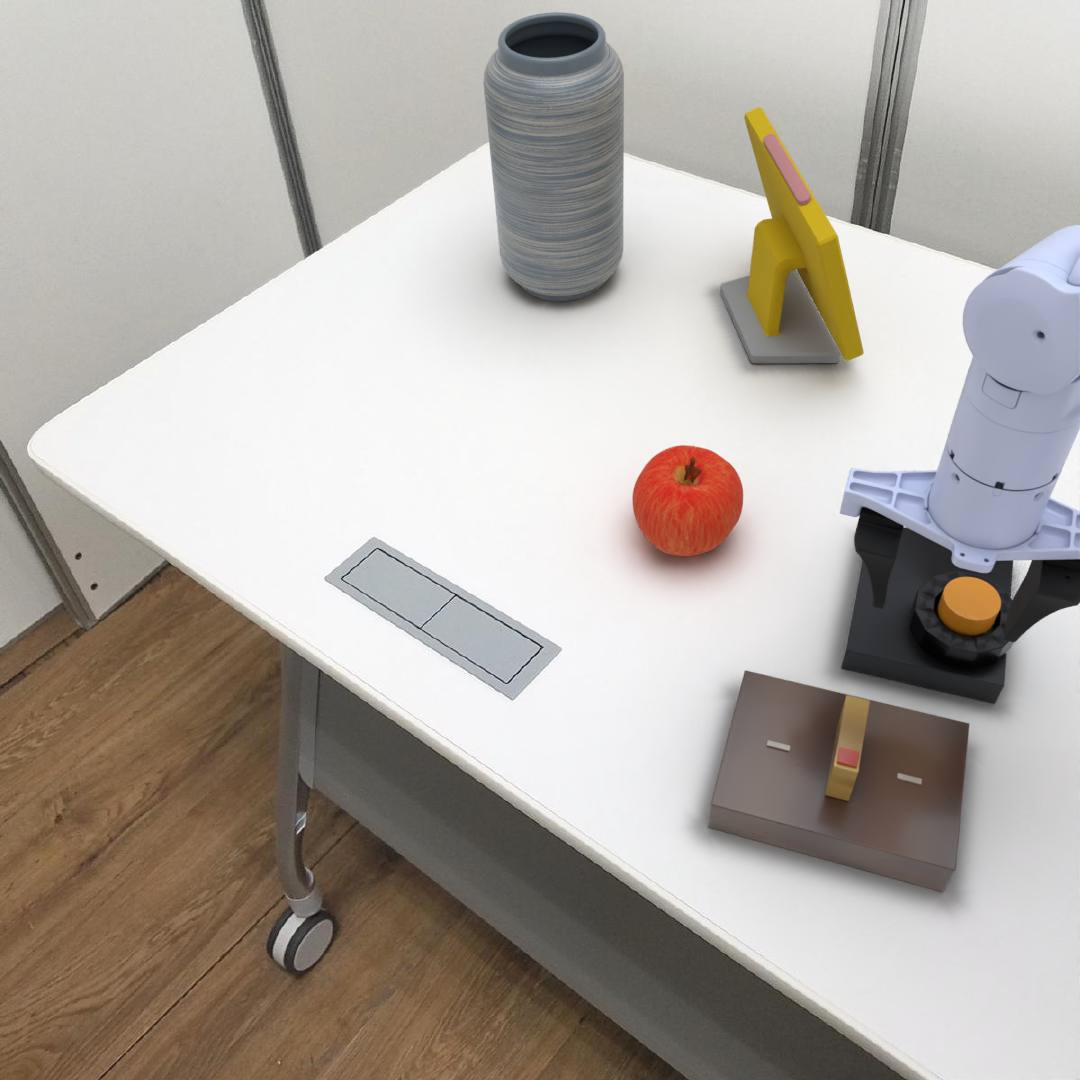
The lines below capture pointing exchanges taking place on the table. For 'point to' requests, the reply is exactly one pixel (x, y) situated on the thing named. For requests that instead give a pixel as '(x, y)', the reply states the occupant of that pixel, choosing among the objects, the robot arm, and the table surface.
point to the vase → (557, 153)
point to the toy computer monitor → (791, 269)
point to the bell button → (969, 606)
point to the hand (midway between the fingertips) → (944, 611)
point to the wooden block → (847, 748)
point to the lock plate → (879, 791)
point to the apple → (687, 500)
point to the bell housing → (927, 626)
